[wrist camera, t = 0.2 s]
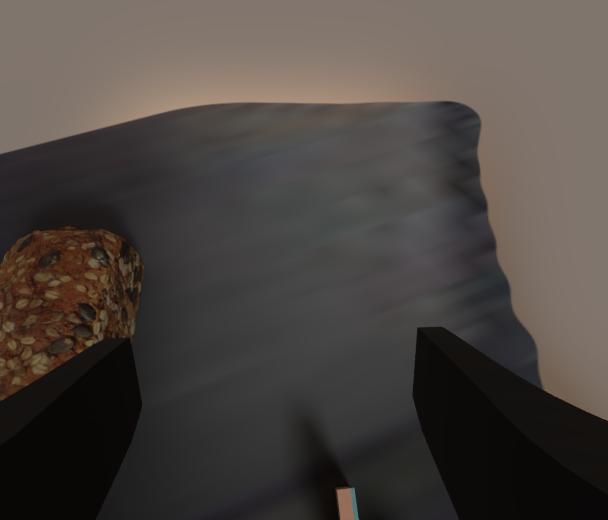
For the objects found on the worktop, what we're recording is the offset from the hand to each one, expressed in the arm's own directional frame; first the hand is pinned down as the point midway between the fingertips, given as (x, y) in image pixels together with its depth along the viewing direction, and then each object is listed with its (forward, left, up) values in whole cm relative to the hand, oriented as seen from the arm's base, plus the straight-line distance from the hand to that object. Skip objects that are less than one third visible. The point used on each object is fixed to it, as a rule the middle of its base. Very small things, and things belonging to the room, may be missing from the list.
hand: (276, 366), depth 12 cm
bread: (+11, +21, -31) cm, 39 cm away
